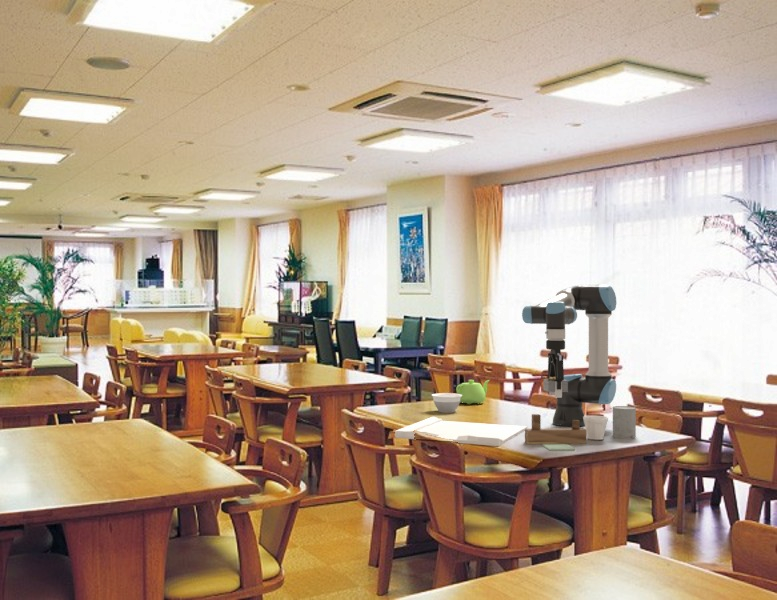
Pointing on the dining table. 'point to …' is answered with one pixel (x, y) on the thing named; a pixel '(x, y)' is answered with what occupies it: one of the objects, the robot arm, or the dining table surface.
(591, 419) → the cup
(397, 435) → the white flat slab
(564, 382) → the lever cap
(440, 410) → the bowl
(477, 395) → the teapot
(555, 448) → the mat
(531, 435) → the body
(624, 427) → the grey cylindrical container
